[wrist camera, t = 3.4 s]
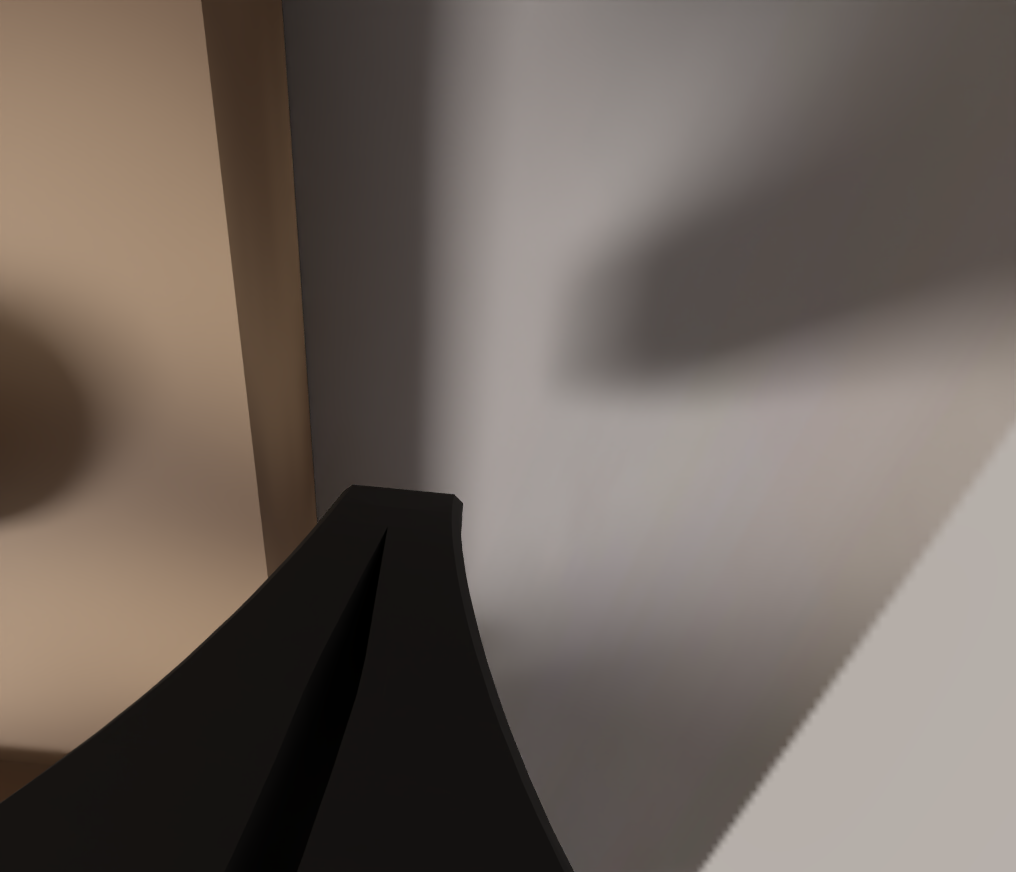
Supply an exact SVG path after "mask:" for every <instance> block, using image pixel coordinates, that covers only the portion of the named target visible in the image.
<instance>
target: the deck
mask: <svg viewBox="0 0 1016 872" xmlns="http://www.w3.org/2000/svg"><path fill="white" fill-rule="evenodd" d="M316 525H317V515H316V500H315V485H314V470H313V456H312V441H311V426H310V411H309V396H308V382H307V367H306V352H305V337H304V322H303V307H302V293H301V278H300V263H299V248H298V233H297V219H296V204H295V189H294V174H293V159H292V145H291V130H290V115H289V100H288V85H287V71H286V56H285V41H284V26H283V11H282V0H0V802H2V801H3V800H5V799H6V798H7V797H9V796H10V795H12V794H13V793H15V792H16V791H17V790H19V789H20V788H22V787H23V786H25V785H26V784H27V783H29V782H30V781H32V780H33V779H34V778H36V777H37V776H38V775H40V774H41V773H43V772H44V771H45V770H47V769H48V768H49V767H51V766H52V765H53V764H55V763H56V762H57V761H59V760H60V759H61V758H63V757H64V756H65V755H67V754H68V753H70V752H71V751H72V750H74V749H75V748H76V747H78V746H79V745H80V744H82V743H83V742H84V741H86V740H87V739H88V738H90V737H91V736H93V735H94V734H95V733H96V732H98V731H99V730H100V729H102V728H103V727H104V726H105V725H107V724H108V723H109V722H110V721H112V720H113V719H114V718H115V717H117V716H118V715H119V714H120V713H122V712H123V711H124V710H125V709H127V708H128V707H129V706H130V705H132V704H133V703H134V702H135V701H137V700H138V699H139V698H140V697H141V696H143V695H144V694H145V693H146V692H147V691H149V690H150V689H151V688H152V687H153V686H154V685H156V684H157V683H158V682H159V681H160V680H161V679H163V678H164V677H165V676H166V675H167V674H168V673H170V672H171V671H172V670H173V669H174V668H175V667H176V666H178V665H179V664H180V663H181V662H182V661H183V660H184V659H185V658H187V657H188V656H189V655H190V654H191V653H192V652H193V651H194V650H195V649H196V648H197V647H198V646H199V645H200V644H201V643H202V642H204V641H205V640H206V639H207V638H208V637H209V636H210V635H211V634H212V633H213V632H214V631H215V630H216V629H217V628H218V627H219V626H221V625H222V624H223V623H224V622H225V621H226V620H227V619H228V618H229V617H230V616H231V615H232V614H233V613H234V612H235V611H236V610H237V609H238V608H239V607H240V606H241V605H242V604H243V603H244V602H245V601H246V600H247V599H248V598H249V597H250V596H251V595H252V594H253V593H254V592H255V591H256V590H257V589H258V588H259V587H260V586H261V585H262V584H263V583H264V582H265V581H266V580H267V579H268V577H269V576H270V575H271V574H272V573H273V572H274V571H275V570H276V569H277V568H278V567H279V566H280V565H281V564H282V563H283V562H284V561H285V560H286V559H287V557H288V556H289V555H290V554H291V553H292V552H293V551H294V550H295V548H296V547H297V546H298V545H299V544H300V543H301V542H302V541H303V540H304V538H305V537H306V536H307V535H308V534H309V533H310V532H311V530H312V529H313V528H314V527H315V526H316Z"/></svg>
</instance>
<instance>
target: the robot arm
mask: <svg viewBox="0 0 1016 872" xmlns="http://www.w3.org/2000/svg"><path fill="white" fill-rule="evenodd" d="M462 510H463V503H462V502H461V501H460V500H459V499H458V498H457V497H456V496H455V495H454V494H444V493H433V492H423V491H412V490H402V489H391V488H381V487H371V486H360V485H352V486H351V487H349V488H348V489H346V490H345V491H344V492H343V493H342V494H341V495H340V497H339V498H338V499H337V500H336V502H335V503H334V504H333V505H332V507H331V508H330V509H329V510H328V511H327V513H326V514H325V515H324V516H323V517H322V519H321V520H320V521H319V522H318V523H317V525H316V526H315V527H314V528H313V529H312V530H311V532H310V533H309V534H308V535H307V536H306V537H305V538H304V540H303V541H302V542H301V543H300V544H299V545H298V546H297V547H296V548H295V550H294V551H293V552H292V553H291V554H290V555H289V556H288V557H287V559H286V560H285V561H284V562H283V563H282V564H281V565H280V566H279V567H278V568H277V569H276V570H275V571H274V572H273V573H272V574H271V575H270V576H269V577H268V579H267V580H266V581H265V582H264V583H263V584H262V585H261V586H260V587H259V588H258V589H257V590H256V591H255V592H254V593H253V594H252V595H251V596H250V597H249V598H248V599H247V600H246V601H245V602H244V603H243V604H242V605H241V606H240V607H239V608H238V609H237V610H236V611H235V612H234V613H233V614H232V615H231V616H230V617H229V618H228V619H227V620H226V621H225V622H224V623H223V624H222V625H221V626H219V627H218V628H217V629H216V630H215V631H214V632H213V633H212V634H211V635H210V636H209V637H208V638H207V639H206V640H205V641H204V642H202V643H201V644H200V645H199V646H198V647H197V648H196V649H195V650H194V651H193V652H192V653H191V654H190V655H189V656H188V657H187V658H185V659H184V660H183V661H182V662H181V663H180V664H179V665H178V666H176V667H175V668H174V669H173V670H172V671H171V672H170V673H168V674H167V675H166V676H165V677H164V678H163V679H161V680H160V681H159V682H158V683H157V684H156V685H154V686H153V687H152V688H151V689H150V690H149V691H147V692H146V693H145V694H144V695H143V696H141V697H140V698H139V699H138V700H137V701H135V702H134V703H133V704H132V705H130V706H129V707H128V708H127V709H125V710H124V711H123V712H122V713H120V714H119V715H118V716H117V717H115V718H114V719H113V720H112V721H110V722H109V723H108V724H107V725H105V726H104V727H103V728H102V729H100V730H99V731H98V732H96V733H95V734H94V735H93V736H91V737H90V738H88V739H87V740H86V741H84V742H83V743H82V744H80V745H79V746H78V747H76V748H75V749H74V750H72V751H71V752H70V753H68V754H67V755H65V756H64V757H63V758H61V759H60V760H59V761H57V762H56V763H55V764H53V765H52V766H51V767H49V768H48V769H47V770H45V771H44V772H43V773H41V774H40V775H38V776H37V777H36V778H34V779H33V780H32V781H30V782H29V783H27V784H26V785H25V786H23V787H22V788H20V789H19V790H17V791H16V792H15V793H13V794H12V795H10V796H9V797H7V798H6V799H5V800H3V801H2V802H0V872H574V871H573V869H572V867H571V865H570V863H569V861H568V859H567V857H566V855H565V853H564V851H563V849H562V847H561V845H560V843H559V841H558V839H557V837H556V835H555V833H554V831H553V829H552V827H551V825H550V823H549V821H548V818H547V816H546V814H545V812H544V809H543V807H542V805H541V802H540V800H539V798H538V796H537V793H536V791H535V789H534V787H533V784H532V782H531V780H530V778H529V775H528V773H527V770H526V768H525V765H524V763H523V760H522V758H521V755H520V753H519V750H518V748H517V746H516V743H515V741H514V738H513V735H512V733H511V730H510V727H509V725H508V722H507V719H506V717H505V714H504V711H503V708H502V705H501V702H500V700H499V697H498V694H497V691H496V688H495V684H494V681H493V678H492V675H491V672H490V669H489V666H488V663H487V659H486V656H485V652H484V649H483V645H482V642H481V638H480V635H479V631H478V627H477V622H476V618H475V614H474V610H473V606H472V602H471V598H470V593H469V588H468V583H467V578H466V572H465V565H464V558H463V551H462V541H461V527H462Z"/></svg>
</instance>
